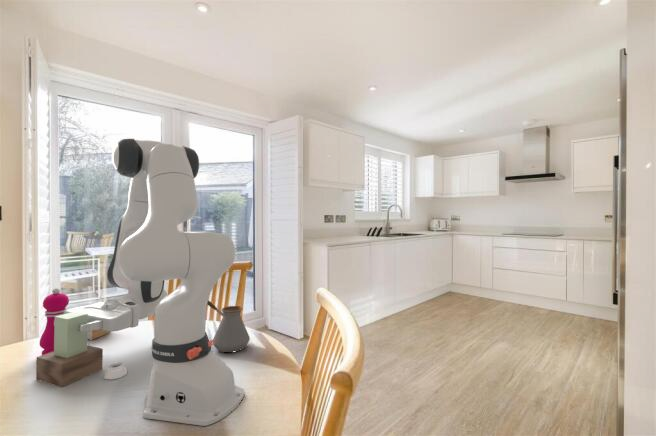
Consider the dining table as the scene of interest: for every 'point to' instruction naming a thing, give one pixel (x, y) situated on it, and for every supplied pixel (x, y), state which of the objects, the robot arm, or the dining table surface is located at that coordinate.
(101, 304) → the small box
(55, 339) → the sage block
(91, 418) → the dining table surface
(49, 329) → the pepper mill
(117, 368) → the white hollow cone
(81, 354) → the walnut block
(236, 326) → the coffee pot
